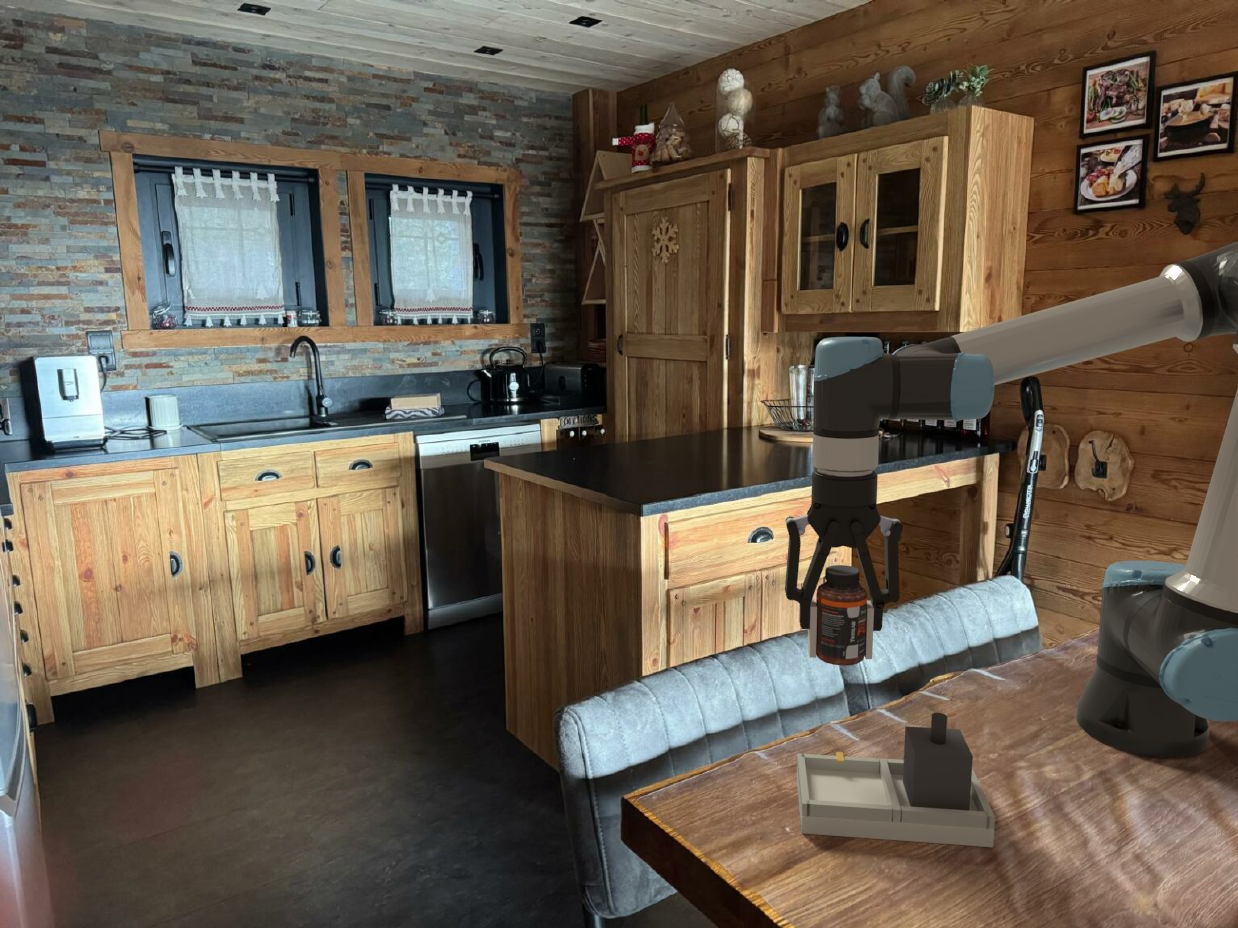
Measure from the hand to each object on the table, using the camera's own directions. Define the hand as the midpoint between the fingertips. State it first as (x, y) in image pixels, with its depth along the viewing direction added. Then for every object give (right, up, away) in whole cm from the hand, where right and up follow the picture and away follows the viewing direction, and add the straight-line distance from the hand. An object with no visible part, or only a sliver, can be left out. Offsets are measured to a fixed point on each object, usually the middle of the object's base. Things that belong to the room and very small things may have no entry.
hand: (839, 653), depth 107 cm
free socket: (-2, -14, -7) cm, 16 cm away
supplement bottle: (0, -1, 0) cm, 1 cm away
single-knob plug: (+9, -14, -9) cm, 19 cm away
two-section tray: (+4, -16, -7) cm, 18 cm away
